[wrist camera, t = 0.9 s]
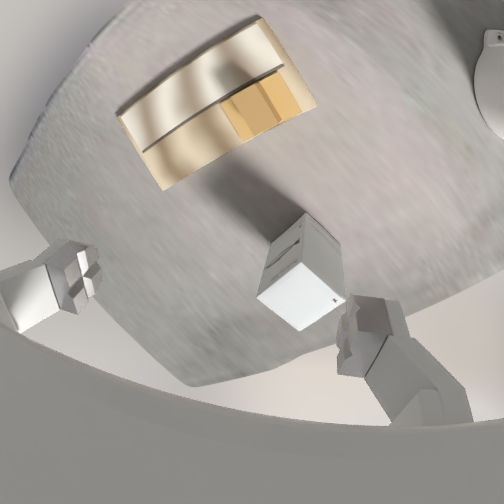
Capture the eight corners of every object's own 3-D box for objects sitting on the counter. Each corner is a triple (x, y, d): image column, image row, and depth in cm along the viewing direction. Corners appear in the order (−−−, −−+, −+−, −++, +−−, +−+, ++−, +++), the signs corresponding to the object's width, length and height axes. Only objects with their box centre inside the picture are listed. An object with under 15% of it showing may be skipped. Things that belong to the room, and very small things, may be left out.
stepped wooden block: (278, 72, 31) (274, 70, 27) (302, 112, 33) (300, 115, 30) (221, 103, 34) (209, 106, 31) (244, 141, 37) (235, 148, 33)
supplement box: (306, 209, 41) (302, 259, 31) (341, 245, 43) (348, 302, 32) (269, 242, 45) (253, 297, 34) (304, 274, 46) (299, 334, 36)
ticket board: (264, 19, 29) (262, 16, 28) (317, 105, 34) (317, 106, 32) (120, 116, 38) (114, 118, 37) (165, 188, 43) (161, 192, 42)
